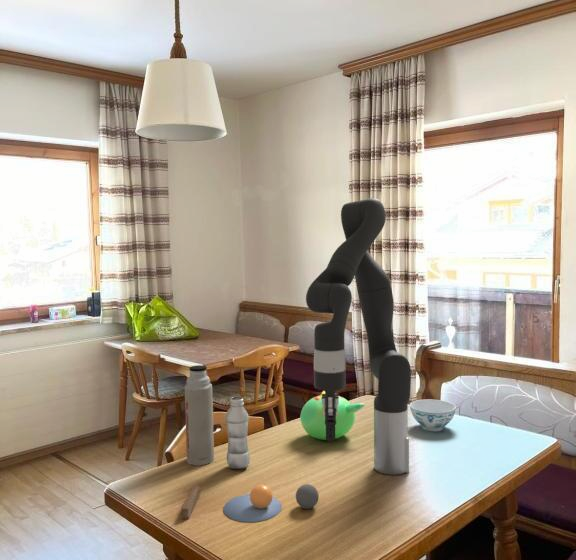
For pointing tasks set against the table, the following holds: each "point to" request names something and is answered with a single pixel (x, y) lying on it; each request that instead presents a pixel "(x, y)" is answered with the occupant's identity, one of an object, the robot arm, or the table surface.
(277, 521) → the table surface
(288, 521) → the table surface
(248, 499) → the blue mark
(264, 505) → the orange ball
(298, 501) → the charcoal ball
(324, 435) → the green bird toy
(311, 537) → the table surface
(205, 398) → the thermos bottle
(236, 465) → the plastic bottle
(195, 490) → the walnut rail
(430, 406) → the chinaware
